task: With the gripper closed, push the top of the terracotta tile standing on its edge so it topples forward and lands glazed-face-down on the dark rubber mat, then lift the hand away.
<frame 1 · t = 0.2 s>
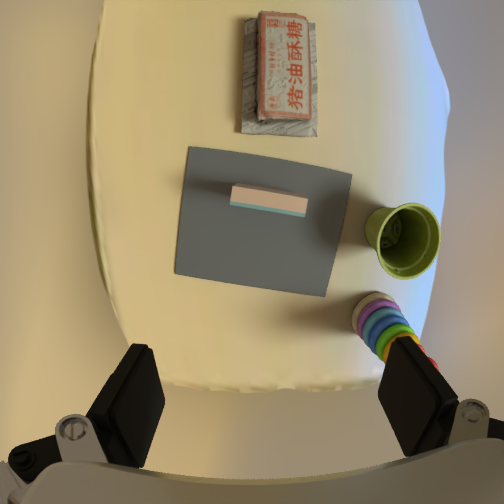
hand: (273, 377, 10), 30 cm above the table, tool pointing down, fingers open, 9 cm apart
stacking toy: (372, 313, 43), on the table
tile: (266, 195, 38), resting on mat
mat: (261, 224, 39), on the table
plant pot: (382, 227, 39), on the table
packaged product: (279, 75, 34), on the table
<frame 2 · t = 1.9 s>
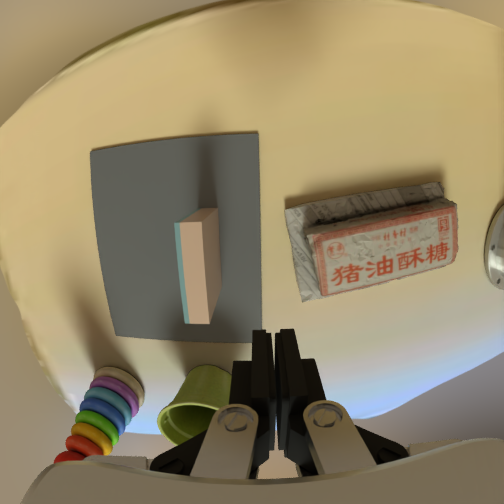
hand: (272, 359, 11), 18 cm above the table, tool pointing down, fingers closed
stacking toy: (121, 384, 35), on the table
tile: (210, 248, 29), resting on mat
mat: (172, 248, 29), on the table
plant pot: (211, 381, 34), on the table
packaged product: (373, 237, 29), on the table
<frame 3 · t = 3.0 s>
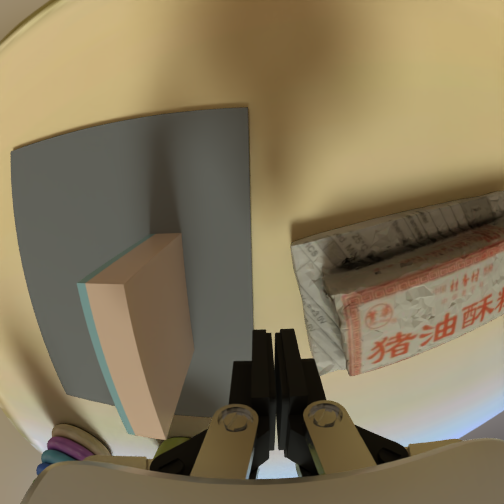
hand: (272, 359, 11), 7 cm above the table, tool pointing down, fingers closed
stacking toy: (84, 441, 24), on the table
tile: (172, 296, 18), resting on mat
mat: (118, 293, 18), on the table
packaged product: (420, 274, 18), on the table
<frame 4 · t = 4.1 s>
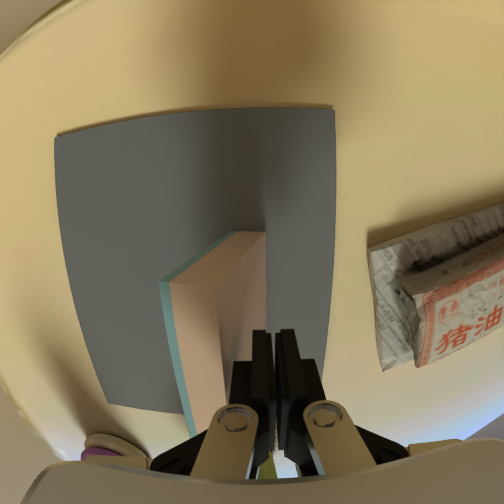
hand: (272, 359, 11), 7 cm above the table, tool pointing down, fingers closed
stacking toy: (120, 450, 24), on the table
tile: (250, 297, 17), point 1 cm above the table, tilted 13°, touching mat
mat: (187, 293, 18), on the table
plant pot: (241, 453, 23), on the table
packaged product: (466, 272, 18), on the table
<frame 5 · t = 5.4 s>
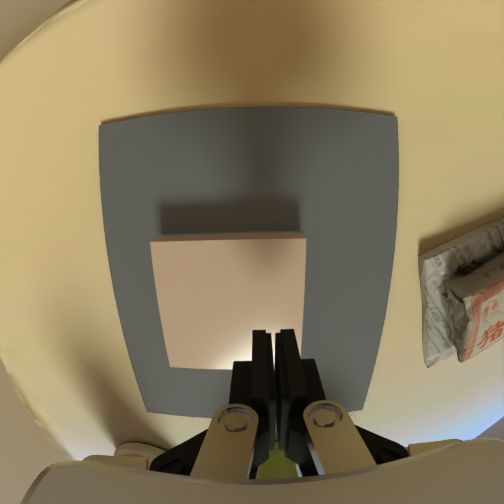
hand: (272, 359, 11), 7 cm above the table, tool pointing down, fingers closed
stacking toy: (152, 458, 24), on the table
tile: (300, 302, 16), point 1 cm above the table, tilted 90°, touching mat
mat: (250, 294, 18), on the table
plant pot: (282, 454, 23), on the table
packaged product: (495, 271, 18), on the table
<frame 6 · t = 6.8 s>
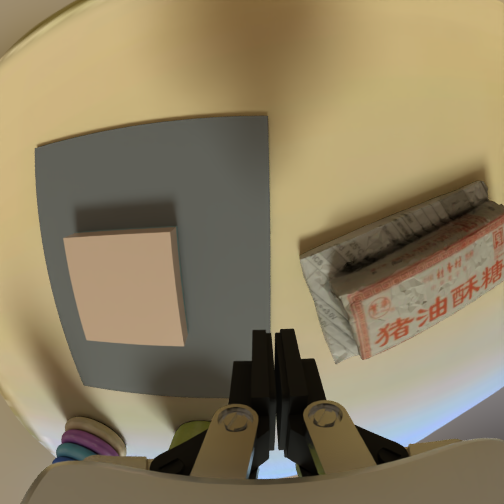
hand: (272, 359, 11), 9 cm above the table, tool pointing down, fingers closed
stacking toy: (98, 434, 25), on the table
tile: (179, 288, 19), point 1 cm above the table, tilted 90°, touching mat
mat: (145, 281, 20), on the table
plant pot: (206, 435, 25), on the table
packaged product: (412, 265, 21), on the table
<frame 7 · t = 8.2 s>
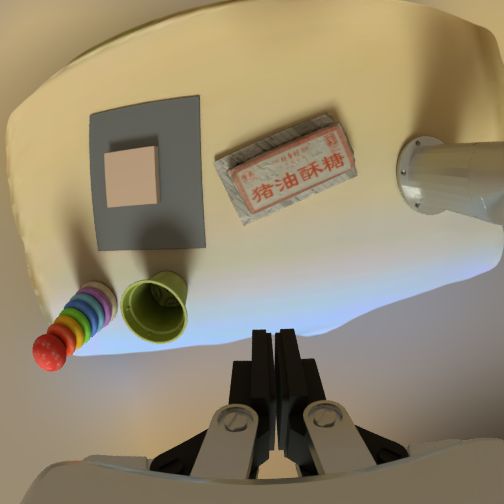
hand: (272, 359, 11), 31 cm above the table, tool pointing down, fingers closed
stacking toy: (99, 300, 45), on the table
tile: (157, 174, 38), point 1 cm above the table, tilted 90°, touching mat
mat: (142, 176, 39), on the table
plant pot: (169, 288, 44), on the table
packaged product: (286, 167, 40), on the table
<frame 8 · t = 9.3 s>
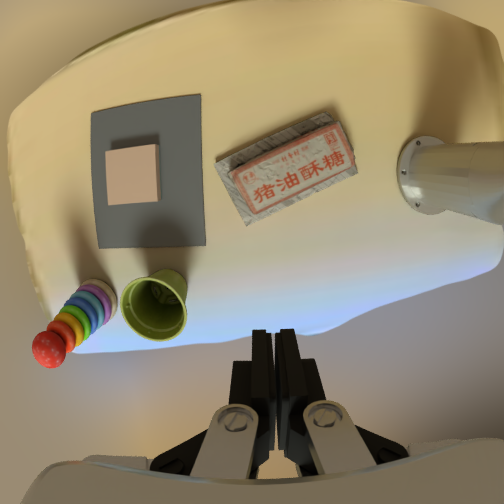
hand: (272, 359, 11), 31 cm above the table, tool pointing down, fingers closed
stacking toy: (99, 298, 45), on the table
tile: (158, 172, 38), point 1 cm above the table, tilted 90°, touching mat
mat: (142, 174, 39), on the table
plant pot: (169, 286, 44), on the table
packaged product: (287, 166, 40), on the table
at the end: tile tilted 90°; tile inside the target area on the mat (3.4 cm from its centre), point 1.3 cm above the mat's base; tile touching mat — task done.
